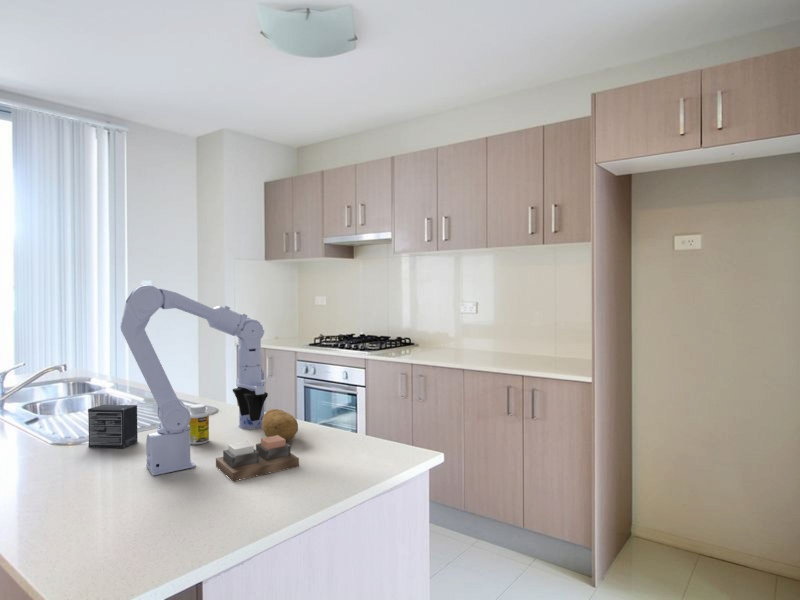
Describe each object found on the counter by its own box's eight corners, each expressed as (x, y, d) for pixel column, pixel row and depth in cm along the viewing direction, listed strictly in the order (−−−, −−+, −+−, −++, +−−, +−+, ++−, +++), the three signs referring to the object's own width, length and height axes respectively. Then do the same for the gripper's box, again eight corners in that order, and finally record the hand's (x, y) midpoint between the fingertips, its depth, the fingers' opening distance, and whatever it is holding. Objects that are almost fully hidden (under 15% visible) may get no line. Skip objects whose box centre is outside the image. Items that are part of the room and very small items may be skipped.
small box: (139, 441, 141) (138, 404, 141) (124, 449, 134) (123, 409, 134) (103, 440, 142) (103, 403, 142) (87, 447, 135) (86, 408, 135)
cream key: (234, 458, 116) (234, 449, 116) (228, 452, 119) (228, 444, 119) (253, 454, 118) (253, 445, 118) (246, 449, 122) (246, 441, 122)
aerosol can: (238, 423, 159) (238, 360, 159) (264, 421, 161) (264, 359, 161) (238, 430, 152) (238, 364, 151) (265, 428, 154) (265, 363, 153)
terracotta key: (268, 451, 121) (267, 442, 121) (260, 446, 124) (260, 438, 124) (285, 447, 123) (285, 439, 123) (277, 443, 127) (277, 435, 127)
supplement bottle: (198, 446, 136) (197, 408, 136) (182, 443, 139) (182, 406, 138) (213, 440, 142) (213, 404, 141) (198, 438, 144) (198, 402, 143)
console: (232, 481, 112) (232, 462, 112) (215, 466, 121) (215, 448, 121) (299, 466, 122) (298, 448, 121) (278, 453, 131) (278, 436, 131)
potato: (273, 450, 133) (272, 420, 133) (255, 437, 145) (254, 409, 145) (307, 443, 139) (306, 414, 139) (287, 431, 151) (287, 404, 150)
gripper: (275, 367, 127) (276, 421, 127) (254, 360, 138) (254, 409, 139) (248, 370, 122) (248, 425, 123) (228, 362, 134) (228, 413, 134)
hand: (250, 417), depth 130 cm, fingers open, 6 cm apart
